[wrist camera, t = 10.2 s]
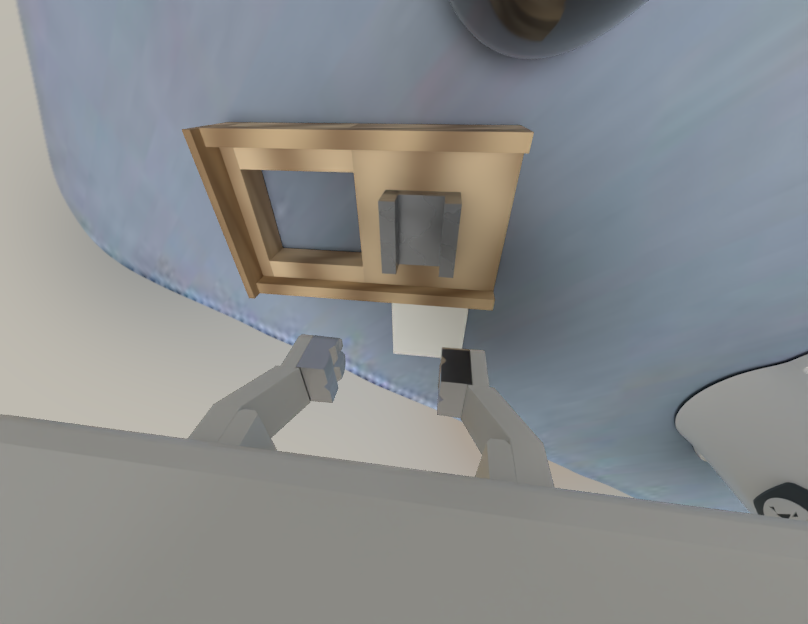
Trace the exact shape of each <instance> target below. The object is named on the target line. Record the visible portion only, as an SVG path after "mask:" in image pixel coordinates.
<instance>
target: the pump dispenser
mask: <svg viewBox="0 0 808 624" xmlns="http://www.w3.org/2000/svg"><path fill="white" fill-rule="evenodd" d="M449 1H450V3H451V5H452V7H453V9H454V11H455V13H456V14H457V16H458V17H459V19H460V20H461V22H462V23H463V24H464V26H465V27H466V28H467V29H468V30H469V32H470V33H471V34H472V35H473V36H474V37H475V38H477V39H478V40H479V41H480V42H481V43H483V44H484V45H485V46H487V47H488V48H490V49H492V50H494V51H496V52H498V53H500V54H503V55H506V56H509V57H514V58H519V59H541V58H548V57H553V56H557V55H560V54H564V53H566V52H569V51H572V50H574V49H577V48H579V47H581V46H583V45H585V44H587V43H589V42H591V41H593V40H595V39H597V38H598V37H600V36H602V35H603V34H605V33H606V32H608V31H609V30H611V29H612V28H614V27H615V26H617V25H618V24H620V23H621V22H622V21H624V20H625V19H626V18H628V17H629V16H630V15H631V14H633V13H634V12H635V11H636V10H638V9H639V8H640V7H641V6H643V5H644V4H645V3H646V2H647V1H649V0H449Z"/></svg>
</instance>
